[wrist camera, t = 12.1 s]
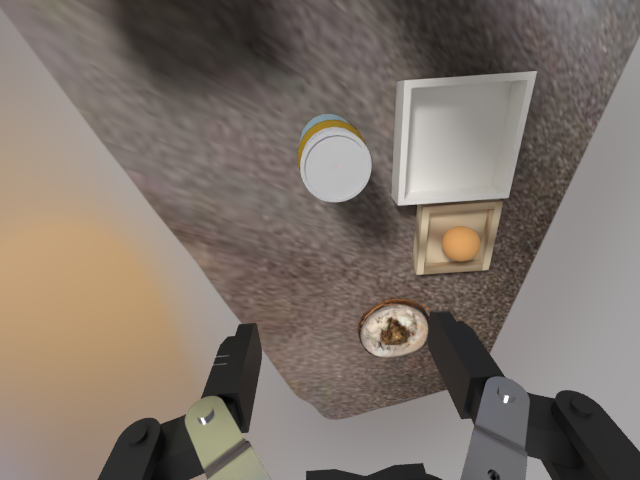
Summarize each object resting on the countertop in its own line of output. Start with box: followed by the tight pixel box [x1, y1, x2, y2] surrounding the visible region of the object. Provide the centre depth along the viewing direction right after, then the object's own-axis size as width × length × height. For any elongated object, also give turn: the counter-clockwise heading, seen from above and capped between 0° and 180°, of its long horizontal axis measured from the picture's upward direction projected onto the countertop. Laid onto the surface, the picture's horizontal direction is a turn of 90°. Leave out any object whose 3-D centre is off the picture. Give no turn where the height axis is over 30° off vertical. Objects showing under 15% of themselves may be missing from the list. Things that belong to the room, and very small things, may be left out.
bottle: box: [298, 114, 372, 202], centre depth 32 cm, size 7×7×15 cm
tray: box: [412, 199, 503, 275], centre depth 44 cm, size 11×11×2 cm
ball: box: [442, 226, 481, 261], centre depth 43 cm, size 5×5×5 cm
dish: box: [391, 71, 537, 206], centre depth 38 cm, size 15×15×4 cm
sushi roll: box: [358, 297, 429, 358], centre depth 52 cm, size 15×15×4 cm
